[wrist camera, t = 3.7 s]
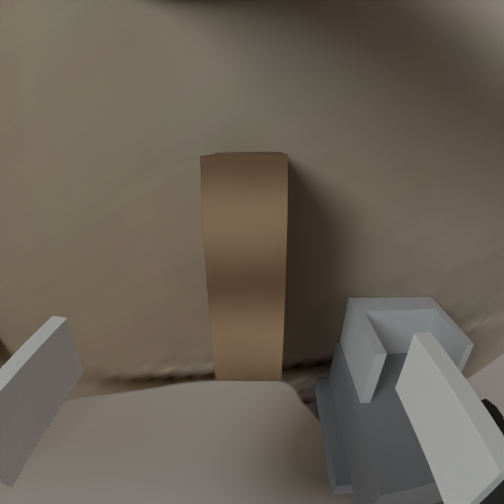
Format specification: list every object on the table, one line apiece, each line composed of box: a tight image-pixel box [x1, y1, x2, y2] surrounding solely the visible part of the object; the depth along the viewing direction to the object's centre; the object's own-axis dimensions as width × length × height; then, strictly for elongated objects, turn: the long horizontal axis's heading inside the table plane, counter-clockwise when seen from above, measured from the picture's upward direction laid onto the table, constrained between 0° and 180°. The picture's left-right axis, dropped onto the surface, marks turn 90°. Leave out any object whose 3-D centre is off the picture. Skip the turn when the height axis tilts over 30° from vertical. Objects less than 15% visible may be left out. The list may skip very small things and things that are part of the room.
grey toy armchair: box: [315, 297, 474, 504], centre depth 17 cm, size 10×10×14 cm
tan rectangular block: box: [200, 152, 288, 381], centre depth 19 cm, size 13×4×6 cm, turn 1°
